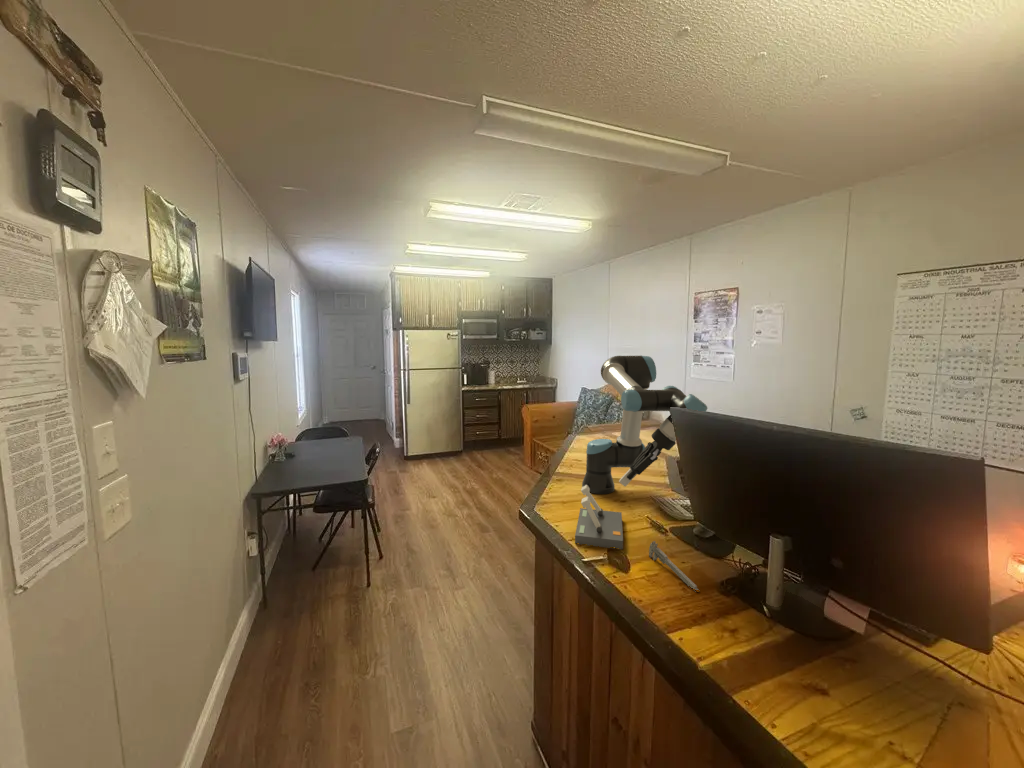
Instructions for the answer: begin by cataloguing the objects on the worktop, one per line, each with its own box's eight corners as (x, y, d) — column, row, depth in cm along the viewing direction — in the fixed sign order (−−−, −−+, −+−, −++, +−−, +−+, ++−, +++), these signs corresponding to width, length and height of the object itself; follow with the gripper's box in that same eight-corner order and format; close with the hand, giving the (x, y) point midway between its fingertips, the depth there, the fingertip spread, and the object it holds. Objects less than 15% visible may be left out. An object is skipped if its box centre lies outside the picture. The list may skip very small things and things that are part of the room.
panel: (580, 515, 164) (580, 507, 164) (621, 519, 161) (621, 511, 160) (574, 543, 141) (575, 534, 141) (622, 549, 137) (623, 540, 137)
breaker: (599, 513, 160) (581, 487, 160) (604, 510, 159) (586, 484, 160) (598, 517, 156) (581, 490, 156) (604, 515, 155) (586, 487, 156)
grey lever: (597, 529, 146) (581, 498, 146) (603, 526, 145) (587, 496, 146) (597, 534, 142) (581, 502, 142) (603, 531, 142) (587, 500, 142)
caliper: (648, 557, 133) (649, 539, 132) (651, 557, 133) (652, 538, 133) (697, 594, 114) (698, 572, 113) (700, 593, 114) (701, 571, 114)
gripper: (679, 448, 131) (631, 498, 138) (674, 436, 143) (630, 483, 150) (660, 433, 132) (613, 484, 138) (656, 422, 144) (613, 470, 151)
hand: (622, 483), depth 144 cm, fingers closed
